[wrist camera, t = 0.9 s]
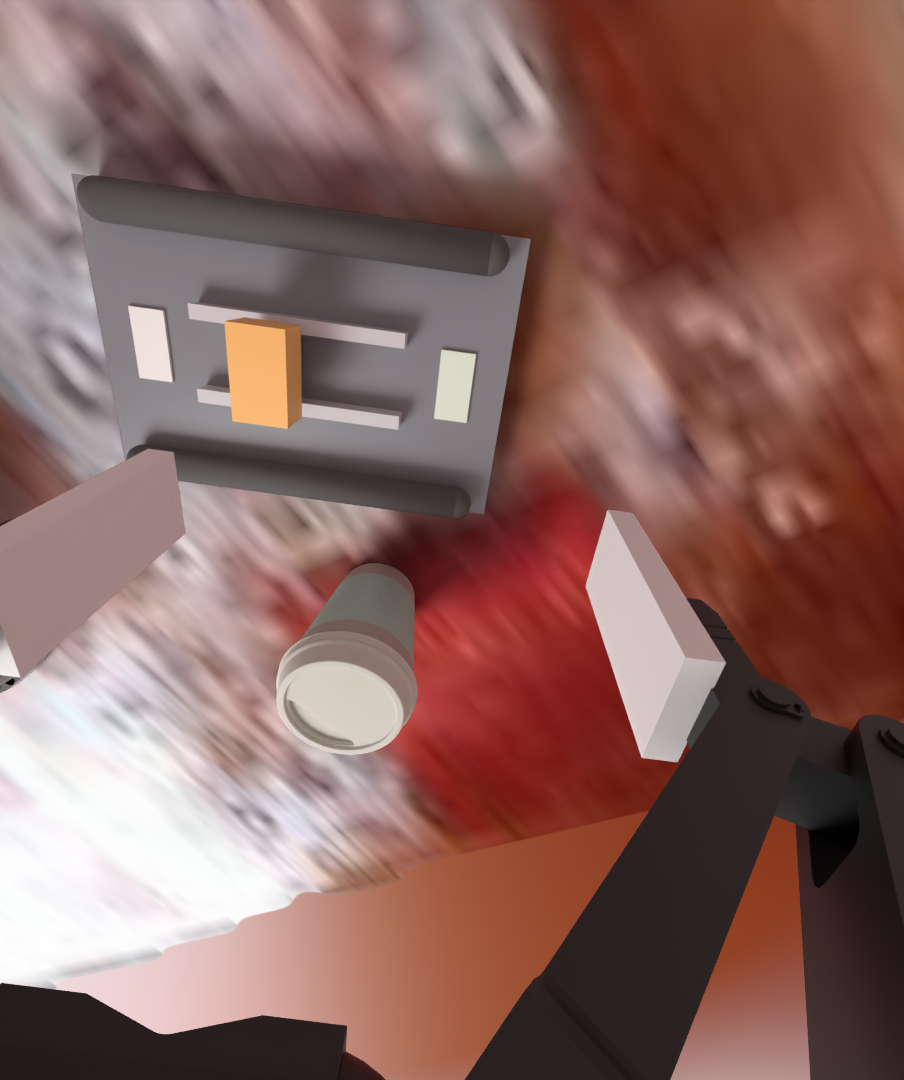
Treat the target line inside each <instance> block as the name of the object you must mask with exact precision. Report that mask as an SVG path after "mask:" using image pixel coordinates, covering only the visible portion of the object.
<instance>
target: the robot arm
mask: <svg viewBox="0 0 904 1080" xmlns="http://www.w3.org/2000/svg"><path fill="white" fill-rule="evenodd" d="M184 534H185V527H184V520H183V513H182V506H181V499H180V492H179V485H178V479H177V472H176V465H175V458H174V452H169V451H162V450H154V449H147V450H145V451H143V452H141V453H139V454H137V455H135V456H133V457H131V458H129V459H128V460H126V461H124V462H122V463H120V464H118V465H116V466H114V467H112V468H110V469H109V470H107V471H105V472H103V473H101V474H99V475H97V476H95V477H93V478H91V479H90V480H88V481H86V482H84V483H82V484H80V485H78V486H76V487H74V488H72V489H71V490H69V491H67V492H65V493H63V494H61V495H59V496H57V497H55V498H53V499H51V500H50V501H48V502H46V503H44V504H42V505H40V506H38V507H36V508H34V509H32V510H31V511H29V512H27V513H25V514H23V515H21V516H19V517H17V518H14V519H11V520H8V521H5V522H3V523H1V524H0V693H1V692H3V691H5V690H7V689H9V688H11V687H13V686H15V685H17V684H18V683H20V682H21V681H22V680H24V679H25V678H26V677H27V676H28V675H29V674H30V673H32V672H33V671H34V670H35V669H36V668H37V667H38V666H39V665H41V664H42V663H43V662H44V660H45V659H46V658H47V656H48V654H49V652H50V651H52V650H53V649H54V648H55V647H56V646H57V645H58V644H60V643H61V642H62V641H63V640H64V639H65V638H66V637H68V636H69V635H70V634H71V633H72V632H73V631H74V630H76V629H77V628H78V627H79V626H80V625H81V624H82V623H84V622H85V621H86V620H87V619H88V618H89V617H90V616H92V615H93V614H94V613H95V612H96V611H97V610H98V609H100V608H101V607H102V606H103V605H104V604H105V603H106V602H108V601H109V600H110V599H111V598H112V597H113V596H114V595H116V594H117V593H118V592H119V591H120V590H121V589H122V588H124V587H125V586H126V585H127V584H128V583H129V582H130V581H132V580H133V579H134V578H135V577H136V576H137V575H138V574H140V573H141V572H142V571H143V570H144V569H145V568H146V567H148V566H149V565H150V564H151V563H152V562H153V561H154V560H156V559H157V558H158V557H159V556H160V555H161V554H162V553H164V552H165V551H166V550H167V549H168V548H169V547H170V546H172V545H173V544H174V543H175V542H176V541H177V540H178V539H180V538H181V537H182V536H183V535H184ZM586 589H587V592H588V595H589V598H590V601H591V604H592V607H593V610H594V613H595V616H596V619H597V623H598V626H599V629H600V632H601V635H602V638H603V641H604V644H605V647H606V650H607V653H608V656H609V659H610V662H611V665H612V668H613V671H614V675H615V678H616V681H617V684H618V687H619V690H620V693H621V696H622V699H623V702H624V705H625V708H626V711H627V714H628V717H629V720H630V724H631V727H632V730H633V733H634V736H635V739H636V742H637V745H638V748H639V751H640V754H641V757H642V758H648V759H656V760H664V761H671V762H678V760H679V758H680V756H681V754H682V752H683V750H684V748H685V746H686V744H687V742H688V745H689V747H690V750H689V752H688V753H687V755H686V756H685V758H684V759H683V761H682V762H681V764H680V765H679V767H678V768H677V770H676V772H675V773H674V775H673V776H672V778H671V779H670V781H669V782H668V784H667V785H666V787H665V788H664V790H663V791H662V793H661V794H660V796H659V797H658V799H657V800H656V802H655V803H654V805H653V806H652V808H651V809H650V811H649V812H648V814H647V816H646V817H645V819H644V820H643V822H642V823H641V825H640V826H639V828H638V829H637V831H636V833H635V834H634V835H633V837H632V838H631V840H630V841H629V843H628V844H627V846H626V847H625V849H624V850H623V852H622V853H621V855H620V856H619V858H618V860H617V861H616V863H615V864H614V866H613V867H612V869H611V870H610V872H609V873H608V875H607V876H606V878H605V879H604V881H603V882H602V884H601V885H600V887H599V888H598V890H597V891H596V893H595V894H594V896H593V897H592V899H591V900H590V902H589V903H588V905H587V907H586V908H585V910H584V911H583V913H582V914H581V916H580V917H579V919H578V920H577V922H576V923H575V925H574V926H573V928H572V929H571V931H570V932H569V934H568V935H567V937H566V939H565V940H564V941H563V943H562V944H561V946H560V948H559V949H558V951H557V952H556V954H555V955H554V956H553V958H552V960H551V961H550V963H549V964H548V965H547V967H546V968H545V970H544V971H543V972H542V974H541V975H540V976H538V977H537V978H535V979H534V980H533V981H532V982H531V984H530V985H529V986H528V987H527V989H526V990H525V991H524V993H523V994H522V996H521V997H520V998H519V1000H518V1001H517V1003H516V1004H515V1006H514V1007H513V1009H512V1010H511V1012H510V1013H509V1015H508V1016H507V1018H506V1019H505V1021H504V1022H503V1024H502V1025H501V1027H500V1028H499V1030H498V1031H497V1032H496V1034H495V1036H494V1037H493V1039H492V1040H491V1041H490V1043H489V1044H488V1046H487V1047H486V1049H485V1051H484V1052H483V1054H482V1055H481V1056H480V1058H479V1059H478V1061H477V1062H476V1064H475V1066H474V1067H473V1068H472V1070H471V1071H470V1073H469V1075H468V1076H467V1077H466V1079H465V1080H670V1079H671V1076H672V1074H673V1071H674V1069H675V1066H676V1064H677V1061H678V1059H679V1056H680V1053H681V1051H682V1048H683V1046H684V1043H685V1041H686V1038H687V1035H688V1033H689V1030H690V1028H691V1025H692V1023H693V1020H694V1018H695V1015H696V1013H697V1010H698V1008H699V1005H700V1002H701V1000H702V997H703V995H704V992H705V990H706V987H707V985H708V982H709V979H710V977H711V974H712V972H713V969H714V967H715V964H716V962H717V959H718V957H719V954H720V952H721V949H722V946H723V944H724V941H725V939H726V936H727V934H728V931H729V929H730V926H731V924H732V921H733V918H734V916H735V913H736V911H737V908H738V906H739V903H740V900H741V898H742V895H743V893H744V890H745V888H746V885H747V883H748V880H749V878H750V875H751V873H752V870H753V867H754V865H755V862H756V860H757V857H758V855H759V852H760V849H761V847H762V844H763V842H764V840H765V837H766V834H767V832H768V829H769V827H770V824H771V822H772V819H773V817H774V816H777V817H779V818H782V819H785V820H787V821H790V822H792V823H794V824H796V837H797V855H798V871H799V890H800V907H801V923H802V941H803V957H804V976H805V992H806V1009H807V1026H808V1044H809V1061H810V1079H811V1080H904V724H902V723H900V722H898V721H896V720H893V719H890V718H886V717H883V716H878V715H867V716H865V717H863V718H861V719H860V720H859V721H858V722H857V724H856V725H855V727H854V728H853V730H849V729H846V728H843V727H840V726H837V725H834V724H831V723H828V722H825V721H822V720H819V719H817V718H814V717H812V716H811V712H810V711H809V709H808V707H807V706H806V704H805V702H804V701H802V700H801V699H800V698H799V697H798V696H797V695H796V694H795V693H794V692H792V691H791V690H789V689H788V688H786V687H784V686H783V685H781V684H779V683H777V682H774V681H772V680H770V679H767V678H764V677H761V676H760V674H759V673H758V672H757V670H756V669H755V667H754V666H753V664H752V663H751V661H750V660H749V658H748V657H747V656H746V654H745V653H744V651H743V650H742V648H741V647H740V645H739V644H738V642H735V638H734V637H733V635H732V634H731V632H730V631H729V630H727V626H726V625H725V624H724V622H723V621H722V619H721V618H720V616H719V615H718V613H716V612H715V611H714V610H713V609H711V608H710V607H709V606H708V605H707V604H705V603H704V602H703V601H702V600H697V599H690V598H686V597H685V596H684V594H683V593H682V591H681V589H680V588H679V586H678V585H677V583H676V581H675V580H674V578H673V577H672V575H671V573H670V572H669V570H668V569H667V567H666V565H665V564H664V562H663V561H662V559H661V557H660V556H659V554H658V552H657V551H656V549H655V548H654V546H653V544H652V543H651V541H650V540H649V538H648V536H647V535H646V533H645V532H644V530H643V528H642V527H641V525H640V524H639V522H638V520H637V519H636V517H635V516H634V514H633V513H629V512H621V511H614V510H608V511H607V514H606V518H605V521H604V524H603V528H602V531H601V535H600V538H599V542H598V545H597V548H596V552H595V555H594V559H593V562H592V566H591V569H590V572H589V576H588V579H587V583H586ZM346 1035H347V1026H344V1025H336V1024H327V1023H320V1022H312V1021H304V1020H296V1019H287V1018H280V1017H272V1016H263V1015H262V1016H258V1017H253V1018H248V1019H243V1020H238V1021H233V1022H228V1023H223V1024H218V1025H213V1026H208V1027H203V1028H198V1029H194V1030H189V1031H184V1032H179V1033H174V1034H158V1033H156V1032H153V1031H152V1030H150V1029H148V1028H146V1027H144V1026H143V1025H141V1024H139V1023H137V1022H136V1021H134V1020H132V1019H130V1018H129V1017H127V1016H125V1015H123V1014H122V1013H120V1012H118V1011H116V1010H115V1009H113V1008H111V1007H109V1006H107V1005H105V1004H104V1003H102V1002H100V1001H99V1000H97V999H95V998H93V997H92V996H90V995H88V994H86V993H78V992H69V991H62V990H54V989H46V988H38V987H30V986H22V985H14V984H5V983H1V984H0V1080H385V1079H384V1078H383V1077H382V1076H381V1075H380V1074H379V1073H378V1072H377V1071H375V1070H374V1069H373V1068H371V1067H370V1066H369V1065H368V1064H366V1063H365V1062H364V1061H362V1060H360V1059H359V1058H357V1057H355V1056H353V1055H351V1054H349V1053H348V1052H346Z"/></svg>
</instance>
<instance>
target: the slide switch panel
mask: <svg viewBox="0 0 904 1080" xmlns="http://www.w3.org/2000/svg"><path fill="white" fill-rule="evenodd" d="M84 177H87V176H85V175H78V174H72V179H73V184H74V190H75V195H76V200H77V206H78V211H79V216H80V222H81V227H82V232H83V238H84V243H85V248H86V254H87V259H88V264H89V270H90V275H91V280H92V286H93V291H94V296H95V302H96V307H97V312H98V318H99V323H100V328H101V334H102V339H103V344H104V350H105V355H106V360H107V366H108V371H109V376H110V382H111V387H112V392H113V398H114V403H115V408H116V414H117V419H118V424H119V430H120V435H121V440H122V446H123V451H124V456H125V461H126V457H127V454H128V452H129V450H130V449H132V448H133V447H135V446H137V445H152V446H160V447H167V448H174V449H182V450H189V451H196V452H203V453H211V454H218V455H225V456H233V457H240V458H247V459H254V460H262V461H269V462H276V463H284V464H291V465H298V466H305V467H313V468H320V469H327V470H335V471H342V472H349V473H357V474H364V475H371V476H378V477H386V478H393V479H400V480H408V481H415V482H422V483H429V484H437V485H444V486H451V487H458V488H461V489H464V490H465V491H466V492H467V493H468V494H469V496H470V499H471V507H470V509H469V511H468V512H469V513H476V514H484V511H485V505H486V499H487V493H488V487H489V482H490V476H491V470H492V464H493V458H494V452H495V446H496V440H497V435H498V429H499V423H500V417H501V411H502V405H503V399H504V394H505V388H506V382H507V376H508V370H509V364H510V358H511V352H512V347H513V341H514V335H515V329H516V323H517V317H518V311H519V306H520V300H521V294H522V288H523V282H524V276H525V270H526V265H527V259H528V253H529V247H530V241H531V239H528V238H521V237H514V236H507V235H501V236H502V237H504V239H505V240H506V242H507V244H508V246H509V251H510V256H509V261H508V264H507V266H506V267H505V269H504V270H503V271H502V272H501V273H499V274H498V275H496V276H492V277H487V276H480V275H473V274H466V273H458V272H451V271H444V270H437V269H430V268H423V267H416V266H409V265H402V264H395V263H388V262H381V261H374V260H367V259H359V258H352V257H345V256H338V255H331V254H324V253H317V252H310V251H303V250H296V249H289V248H282V247H275V246H268V245H260V244H253V243H246V242H239V241H232V240H225V239H218V238H211V237H204V236H197V235H190V234H183V233H176V232H168V231H161V230H154V229H147V228H140V227H133V226H126V225H119V224H112V223H105V222H101V221H98V220H96V219H94V218H92V217H91V216H90V215H88V214H87V213H86V212H85V211H84V209H83V208H82V207H81V205H80V203H79V201H78V198H77V186H78V184H79V182H80V181H81V180H82V179H83V178H84ZM243 317H246V318H253V319H261V320H268V321H275V322H282V323H289V324H296V325H301V339H303V356H304V392H303V393H302V418H301V419H300V420H298V421H297V422H296V423H295V424H293V425H292V426H291V427H290V428H288V429H285V428H277V427H270V426H263V425H256V424H248V423H241V422H234V421H232V410H231V398H230V385H229V373H228V360H227V348H226V336H225V323H224V321H227V320H233V319H238V318H243Z"/></svg>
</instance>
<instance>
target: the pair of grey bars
mask: <svg viewBox="0 0 904 1080" xmlns="http://www.w3.org/2000/svg"><path fill="white" fill-rule="evenodd" d="M77 198H78V201H79V203H80V205H81V207H82V208H83V209H84V211H85V212H86V213H87V214H88V215H90V216H91V217H92V218H94V219H96V220H98V221H101V222H105V223H112V224H119V225H126V226H133V227H140V228H147V229H154V230H161V231H168V232H176V233H183V234H190V235H197V236H204V237H211V238H218V239H225V240H232V241H239V242H246V243H253V244H260V245H268V246H275V247H282V248H289V249H296V250H303V251H310V252H317V253H324V254H331V255H338V256H345V257H352V258H359V259H367V260H374V261H381V262H388V263H395V264H402V265H409V266H416V267H423V268H430V269H437V270H444V271H451V272H458V273H466V274H473V275H480V276H487V277H492V276H496V275H498V274H499V273H501V272H502V271H503V270H504V269H505V267H506V266H507V264H508V261H509V256H510V251H509V246H508V244H507V242H506V240H505V239H504V237H502V236H501V235H500V234H498V233H495V232H489V231H482V230H475V229H468V228H461V227H454V226H447V225H440V224H432V223H425V222H418V221H411V220H404V219H397V218H390V217H383V216H376V215H369V214H362V213H355V212H348V211H341V210H334V209H327V208H320V207H313V206H306V205H299V204H292V203H285V202H278V201H271V200H264V199H257V198H250V197H243V196H236V195H229V194H222V193H215V192H208V191H201V190H194V189H187V188H179V187H172V186H165V185H158V184H151V183H144V182H137V181H130V180H123V179H116V178H109V177H102V176H87V177H84V178H83V179H82V180H81V181H80V182H79V184H78V186H77ZM147 449H154V450H162V451H169V452H174V458H175V465H176V472H177V479H178V481H184V482H191V483H199V484H206V485H213V486H220V487H228V488H235V489H242V490H250V491H257V492H264V493H272V494H279V495H286V496H294V497H301V498H308V499H316V500H323V501H330V502H338V503H345V504H352V505H360V506H367V507H374V508H382V509H389V510H396V511H404V512H411V513H418V514H426V515H433V516H440V517H448V518H461V517H463V516H464V515H466V514H467V513H468V511H469V509H470V507H471V499H470V496H469V494H468V493H467V492H466V491H465V490H464V489H461V488H458V487H451V486H444V485H437V484H429V483H422V482H415V481H408V480H400V479H393V478H386V477H378V476H371V475H364V474H357V473H349V472H342V471H335V470H327V469H320V468H313V467H305V466H298V465H291V464H284V463H276V462H269V461H262V460H254V459H247V458H240V457H233V456H225V455H218V454H211V453H203V452H196V451H189V450H182V449H174V448H167V447H160V446H152V445H137V446H135V447H133V448H132V449H130V450H129V452H128V454H127V457H126V460H128V459H129V458H131V457H133V456H135V455H137V454H139V453H141V452H143V451H145V450H147Z"/></svg>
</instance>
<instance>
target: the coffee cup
mask: <svg viewBox="0 0 904 1080" xmlns="http://www.w3.org/2000/svg"><path fill="white" fill-rule="evenodd" d="M414 615H415V594H414V589H413V587H412V584H411V583H410V581H409V580H408V578H407V577H406V576H405V575H404V574H403V573H402V572H400V571H399V570H397V569H396V568H393V567H391V566H389V565H385V564H380V563H368V564H363V565H360V566H358V567H356V568H354V569H353V570H351V571H350V572H349V573H348V574H347V575H346V577H345V578H344V579H343V581H342V582H341V584H340V585H339V586H338V588H337V589H336V591H335V592H334V593H333V595H332V596H331V598H330V599H329V600H328V602H327V603H326V605H325V606H324V607H323V609H322V610H321V612H320V613H319V615H318V616H317V617H316V619H315V620H314V622H313V623H312V624H311V626H310V627H309V629H308V630H307V632H306V633H305V634H304V636H303V637H302V639H301V640H300V641H298V642H297V643H295V644H294V645H293V646H292V647H291V648H290V649H289V650H288V651H287V652H286V654H285V655H284V657H283V658H282V661H281V663H280V666H279V671H278V674H277V680H276V687H277V708H278V712H279V714H280V716H281V718H282V720H283V722H284V723H285V725H286V726H287V727H288V728H289V729H290V731H291V732H293V733H294V734H295V735H296V736H297V737H298V738H300V739H301V740H303V741H304V742H306V743H308V744H310V745H312V746H313V747H316V748H319V749H321V750H324V751H328V752H332V753H338V754H349V755H350V754H363V753H368V752H372V751H375V750H377V749H380V748H382V747H384V746H385V745H387V744H388V743H390V742H391V741H392V740H393V739H394V738H395V737H396V736H397V735H398V733H399V732H400V730H401V728H402V727H403V726H404V725H405V724H406V722H407V721H408V719H409V718H410V716H411V714H412V711H413V709H414V706H415V704H416V700H417V694H418V689H417V682H416V679H415V676H414V673H413V670H414Z"/></svg>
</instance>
